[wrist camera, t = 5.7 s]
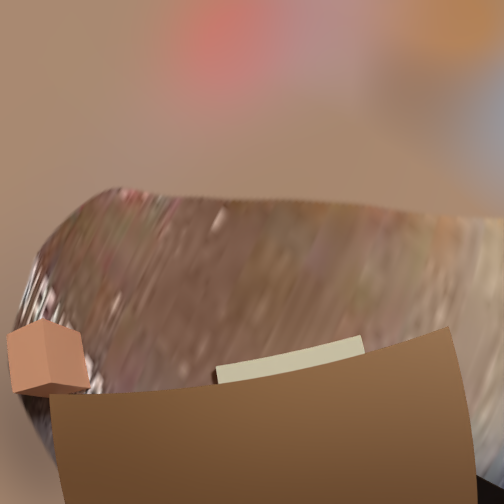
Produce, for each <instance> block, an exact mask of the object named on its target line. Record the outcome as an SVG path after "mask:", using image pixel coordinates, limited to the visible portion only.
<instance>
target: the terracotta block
mask: <svg viewBox="0 0 504 504" xmlns="http://www.w3.org/2000/svg"><path fill="white" fill-rule="evenodd" d="M7 347H8V358H9V368H10V376H11V383H12V390H13V393H17V394H23V395H30V396H38V397H47V398H49V394H70V393H74V392H78V391H82V390H85V389H89V388H91V387H90V382H89V378H88V373H87V368H86V363H85V358H84V352H83V347H82V341H81V334H80V332H77V331H74V330H72V329H69V328H66V327H64V326H61V325H59V324H56V323H53V322H51V321H48V320H46V319H44V318H42V319H40V320H38V321H35V322H33V323H31V324H29V325H27V326H24V327H22V328H20V329H18V330H16V331H14V332H11V333H9V334H7Z"/></svg>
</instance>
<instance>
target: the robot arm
mask: <svg viewBox="0 0 504 504" xmlns="http://www.w3.org/2000/svg"><path fill="white" fill-rule="evenodd" d="M476 480H477V501H478V504H504V489H502V488H500V487H498V486H497V485H495V484H493V483H491V482H489V481H487V480H485V479H483V478H481V477H479V476H478V475H476Z"/></svg>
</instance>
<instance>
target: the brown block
mask: <svg viewBox="0 0 504 504" xmlns="http://www.w3.org/2000/svg"><path fill="white" fill-rule="evenodd" d="M49 400H50V413H51V423H52V432H53V440H54V447H55V454H56V460H57V466H58V472H59V477H60V482H61V486H62V491H63V495H64V500H65V504H478V501H477V480H476V467H475V456H474V447H473V439H472V432H471V425H470V419H469V413H468V407H467V401H466V396H465V391H464V386H463V381H462V377H461V372H460V368H459V364H458V360H457V356H456V352H455V348H454V344H453V341H452V337H451V333H450V330H449V326H448V327H445V328H443V329H440V330H437V331H434V332H431V333H429V334H426V335H423V336H420V337H417V338H414V339H411V340H408V341H405V342H401V343H398V344H395V345H392V346H389V347H385V348H382V349H379V350H375V351H372V352H368V353H365V354H361V355H357V356H354V357H350V358H346V359H342V360H338V361H334V362H330V363H326V364H322V365H317V366H313V367H309V368H304V369H300V370H295V371H290V372H285V373H280V374H275V375H270V376H264V377H259V378H253V379H247V380H241V381H235V382H228V383H221V384H214V385H207V386H199V387H190V388H181V389H171V390H161V391H148V392H133V393H114V394H49Z"/></svg>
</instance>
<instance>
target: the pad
mask: <svg viewBox="0 0 504 504" xmlns="http://www.w3.org/2000/svg"><path fill="white" fill-rule="evenodd" d="M361 354H365V351H364V347H363V343H362V339H361V335H358V336H355V337H351V338H347V339H344V340H340V341H336V342H332V343H328V344H324V345H320V346H316V347H312V348H307V349H303V350H299V351H294V352H290V353H285V354H280V355H276V356H271V357H266V358H261V359H255V360H250V361H245V362H239V363H234V364H228V365H222V366H216V372H217V378H218V384H221V383H228V382H235V381H241V380H247V379H253V378H259V377H264V376H270V375H275V374H280V373H285V372H290V371H295V370H300V369H304V368H309V367H313V366H317V365H322V364H326V363H330V362H334V361H338V360H342V359H346V358H350V357H354V356H357V355H361Z"/></svg>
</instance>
